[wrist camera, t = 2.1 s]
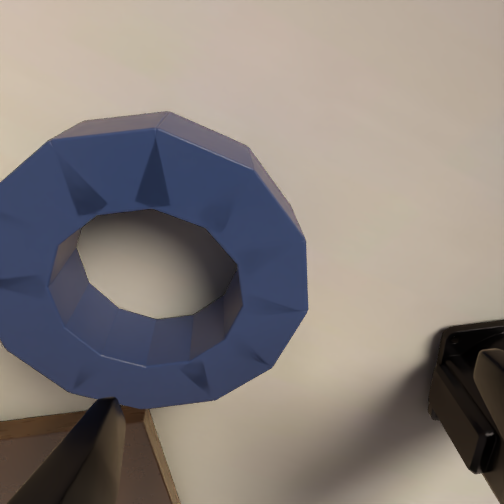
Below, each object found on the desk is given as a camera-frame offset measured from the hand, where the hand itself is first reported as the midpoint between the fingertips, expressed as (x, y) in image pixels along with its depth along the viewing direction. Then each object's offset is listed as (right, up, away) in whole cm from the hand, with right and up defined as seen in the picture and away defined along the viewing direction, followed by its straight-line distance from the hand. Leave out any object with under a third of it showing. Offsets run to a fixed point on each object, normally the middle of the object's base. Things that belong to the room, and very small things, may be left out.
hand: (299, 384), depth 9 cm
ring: (-5, +3, +7) cm, 9 cm away
